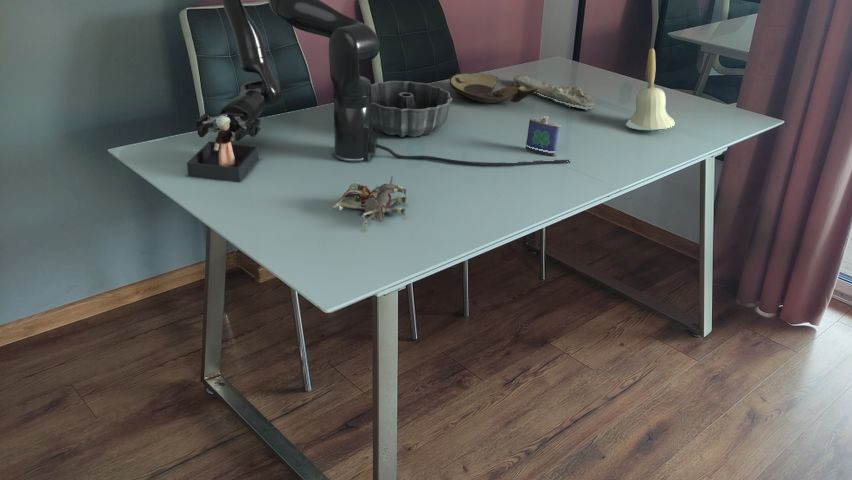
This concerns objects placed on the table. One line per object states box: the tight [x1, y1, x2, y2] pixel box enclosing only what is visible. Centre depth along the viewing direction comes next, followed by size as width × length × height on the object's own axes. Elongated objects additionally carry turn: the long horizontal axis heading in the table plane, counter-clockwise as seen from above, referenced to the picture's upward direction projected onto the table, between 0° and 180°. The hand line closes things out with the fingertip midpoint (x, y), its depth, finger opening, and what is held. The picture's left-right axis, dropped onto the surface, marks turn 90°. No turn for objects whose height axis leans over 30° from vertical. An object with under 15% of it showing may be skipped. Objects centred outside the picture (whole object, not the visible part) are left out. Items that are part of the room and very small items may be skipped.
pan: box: [186, 141, 260, 183], centre depth 184 cm, size 12×14×3 cm
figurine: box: [329, 175, 407, 228], centre depth 171 cm, size 20×6×17 cm
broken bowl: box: [448, 72, 538, 104], centre depth 247 cm, size 22×30×8 cm
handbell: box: [629, 47, 676, 130], centre depth 236 cm, size 15×15×25 cm
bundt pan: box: [371, 80, 453, 138], centre depth 218 cm, size 26×26×10 cm
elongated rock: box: [512, 75, 596, 109], centre depth 259 cm, size 35×5×10 cm
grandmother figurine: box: [214, 116, 235, 167], centre depth 181 cm, size 8×4×13 cm, turn 177°
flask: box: [525, 115, 562, 157], centre depth 212 cm, size 9×3×11 cm, turn 68°
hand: (218, 135), depth 179 cm, fingers open, 8 cm apart
